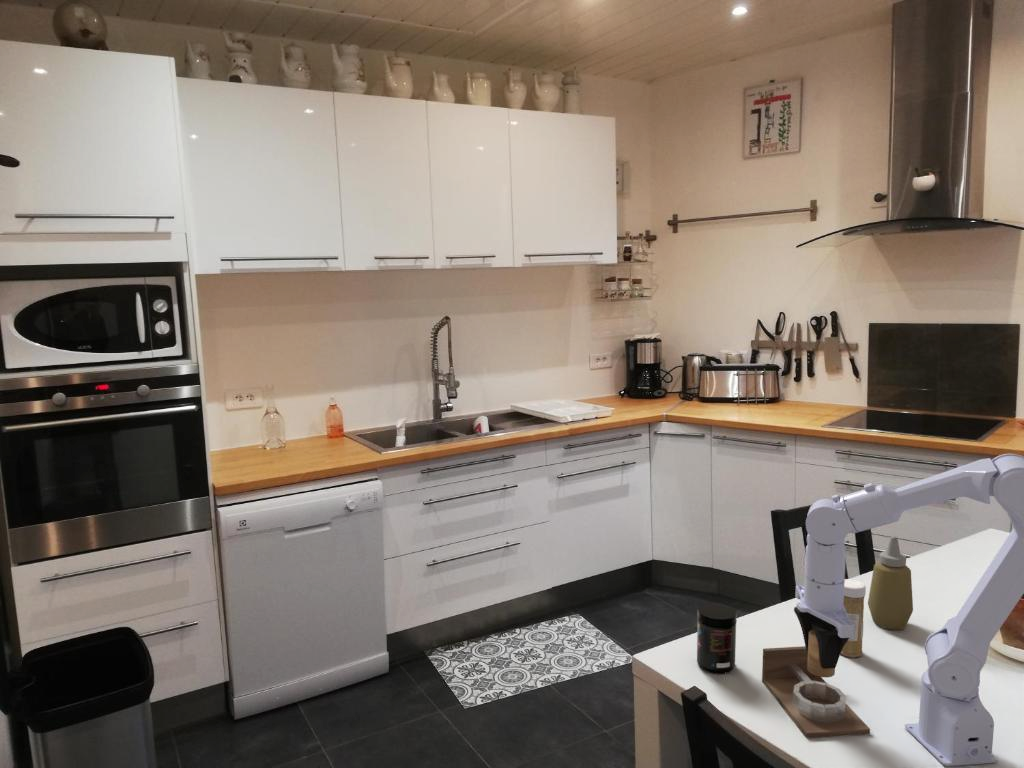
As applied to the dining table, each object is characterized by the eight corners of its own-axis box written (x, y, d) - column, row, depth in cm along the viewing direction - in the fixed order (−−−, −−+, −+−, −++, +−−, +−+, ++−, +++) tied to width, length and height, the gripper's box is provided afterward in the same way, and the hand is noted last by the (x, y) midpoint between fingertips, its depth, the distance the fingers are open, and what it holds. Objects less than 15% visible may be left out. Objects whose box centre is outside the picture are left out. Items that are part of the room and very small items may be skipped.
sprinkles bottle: (867, 653, 135) (871, 584, 133) (853, 661, 132) (856, 590, 130) (844, 644, 138) (847, 576, 137) (830, 650, 136) (833, 581, 134)
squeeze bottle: (921, 628, 144) (927, 541, 142) (891, 636, 141) (896, 547, 139) (887, 612, 151) (891, 528, 149) (857, 619, 149) (861, 533, 146)
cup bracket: (869, 733, 111) (871, 696, 110) (806, 738, 110) (807, 700, 109) (817, 678, 127) (819, 645, 126) (761, 681, 126) (763, 648, 125)
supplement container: (722, 653, 135) (723, 600, 134) (742, 672, 129) (744, 616, 128) (689, 659, 134) (690, 605, 132) (708, 678, 127) (709, 621, 126)
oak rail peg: (840, 676, 114) (841, 639, 113) (816, 678, 113) (817, 641, 112) (825, 663, 118) (827, 627, 117) (802, 665, 117) (803, 629, 116)
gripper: (778, 561, 120) (776, 639, 122) (822, 598, 106) (819, 685, 108) (820, 559, 121) (816, 636, 123) (869, 596, 106) (865, 683, 108)
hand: (820, 659), depth 115 cm, fingers closed on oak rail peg, 4 cm apart
